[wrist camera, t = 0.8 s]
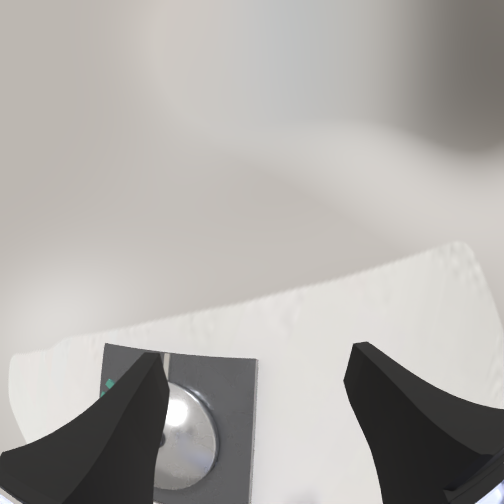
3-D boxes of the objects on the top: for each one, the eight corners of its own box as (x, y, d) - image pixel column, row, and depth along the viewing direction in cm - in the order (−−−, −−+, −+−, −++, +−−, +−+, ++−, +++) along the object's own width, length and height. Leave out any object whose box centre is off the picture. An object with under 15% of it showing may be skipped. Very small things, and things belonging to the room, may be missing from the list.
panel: (249, 517, 17) (246, 523, 15) (105, 475, 20) (98, 477, 19) (258, 359, 25) (255, 358, 23) (111, 344, 28) (103, 342, 27)
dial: (217, 496, 17) (198, 515, 13) (116, 466, 20) (87, 473, 15) (222, 388, 23) (202, 388, 18) (119, 371, 25) (89, 365, 21)
